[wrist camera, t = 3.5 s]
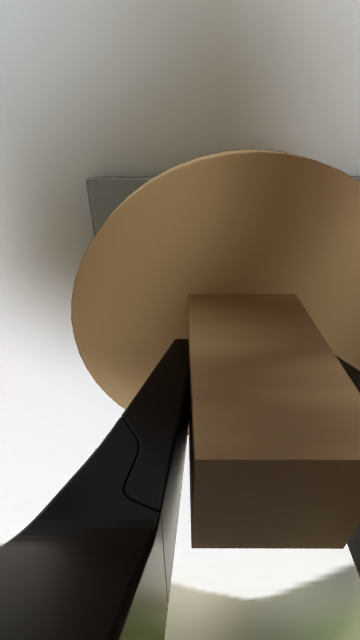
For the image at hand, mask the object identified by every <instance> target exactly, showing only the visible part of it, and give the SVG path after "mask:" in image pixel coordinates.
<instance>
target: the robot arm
mask: <svg viewBox="0 0 360 640" xmlns="http://www.w3.org/2000/svg"><path fill="white" fill-rule="evenodd" d="M335 356H336V355H335ZM336 357H337V359H338V360H339V362H340V363H341V365H342V367H343V368H344V370H345V371H346V373H347V374H348V376H349V377H350V379H351V380H352V382H353V384H354V385H355V387H356V388H357V390H358V391H359V393H360V371H359V370H358V369H356V368H355V367H353V366H352V365H350V364H349V363H347V362H345V361H344V360H342V359H341V358H339V357H338V356H336ZM189 396H190V357H189V339H175V340H174V341H173V342H172V344H171V345H170V347H169V348H168V350H167V351H166V352H165V354H164V355H163V357H162V358H161V360H160V361H159V362H158V364H157V365H156V367H155V368H154V370H153V371H152V373H151V374H150V375H149V377H148V378H147V380H146V381H145V383H144V384H143V385H142V387H141V388H140V390H139V391H138V393H137V394H136V395H135V397H134V398H133V400H132V401H131V403H130V404H129V405H128V407H127V408H126V410H125V411H124V413H123V414H122V416H121V418H119V419H118V421H117V422H116V424H115V425H114V427H113V428H112V430H111V431H110V432H109V434H108V435H107V436H106V438H105V439H104V440H103V442H102V443H101V444H100V446H99V447H98V448H97V449H96V450H95V451H94V453H93V454H92V455H91V456H90V457H89V459H88V460H87V461H86V462H85V463H84V464H83V466H82V467H81V468H80V469H79V470H78V471H77V472H76V473H75V474H74V476H73V477H72V478H71V479H70V480H69V481H68V482H67V483H66V485H65V486H64V487H63V488H62V489H61V490H60V491H59V492H58V494H57V495H56V496H55V497H54V498H53V499H52V500H51V501H50V503H49V504H48V505H47V506H46V507H45V508H44V509H43V510H42V512H41V513H40V514H39V515H38V516H37V517H36V518H35V519H34V520H33V521H32V522H31V523H30V524H29V525H28V526H27V527H26V528H25V529H23V530H22V531H21V532H20V533H19V534H17V535H16V536H15V537H13V538H12V539H11V540H9V541H8V542H7V543H5V544H3V545H2V546H0V640H164V637H165V628H166V619H167V611H168V606H167V605H168V602H169V593H170V584H171V575H172V567H173V558H174V549H175V540H176V531H177V523H178V514H179V505H180V496H181V488H182V479H183V470H184V461H185V452H186V444H187V435H188V426H189ZM347 544H348V547H349V550H350V552H351V555H352V558H353V561H354V563H355V566H356V569H357V572H358V574H359V577H360V524H359V526H358V527H357V529H356V530H355V532H354V533H353V535H352V536H351V538H350V539H349V541H348V542H347Z"/></svg>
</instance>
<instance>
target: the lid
mask: <svg viewBox="0 0 360 640" xmlns="http://www.w3.org/2000/svg"><path fill="white" fill-rule="evenodd" d="M71 320H72V326H73V333H74V338H75V341H76V344H77V347H78V351H79V354H80V356H81V358H82V360H83V362H84V364H85V366H86V368H87V370H88V371H89V373H90V374H91V375H92V377H93V378H94V380H95V381H96V383H97V384H98V385H99V386H100V387H101V388H102V389H103V391H104V392H105V393H106V394H107V395H108V396H109V397H111V398H112V399H113V400H114V401H115V402H116V403H117V404H118V405H120V406H121V407H123V408H124V409H126V408H127V407H128V405H129V404H130V403H131V401H132V400H133V398H134V397H135V395H136V394H137V393H138V391H139V390H140V388H141V387H142V385H143V384H144V383H145V381H146V380H147V378H148V377H149V375H150V374H151V373H152V371H153V370H154V368H155V367H156V365H157V364H158V362H159V361H160V360H161V358H162V357H163V355H164V354H165V352H166V351H167V350H168V348H169V347H170V345H171V344H172V342H173V341H174V340H175V339H189V357H190V396H189V426H188V435H189V461H190V503H191V544H192V548H332V549H343V548H344V546H345V545H346V543H347V542H348V541H349V539H350V538H351V536H352V535H353V533H354V532H355V530H356V529H357V527H358V526H359V524H360V393H359V391H358V390H357V388H356V387H355V385H354V384H353V382H352V380H351V379H350V377H349V376H348V374H347V373H346V371H345V370H344V368H343V367H342V365H341V363H340V362H339V360H338V359H337V357H336V356H338V357H339V358H341V359H342V360H344V361H345V362H347V363H349V364H350V365H352V366H353V367H355V368H356V369H358V370H359V371H360V182H358V181H357V180H355V179H353V178H352V177H350V176H349V175H347V174H345V173H344V172H342V171H340V170H337V169H335V168H333V167H330V166H328V165H325V164H323V163H320V162H318V161H315V160H312V159H309V158H306V157H302V156H297V155H293V154H289V153H284V152H280V151H268V150H255V149H250V150H237V151H224V152H220V153H216V154H211V155H207V156H202V157H198V158H195V159H193V160H190V161H187V162H185V163H182V164H180V165H177V166H174V167H172V168H170V169H168V170H167V171H165V172H163V173H161V174H159V175H158V176H156V177H154V178H152V179H150V180H149V181H147V182H146V183H145V184H144V185H142V186H141V187H140V188H138V189H137V190H136V191H134V192H133V193H132V194H130V195H129V196H128V197H127V198H126V199H125V200H124V201H123V202H122V203H121V204H120V205H119V206H118V207H117V208H116V209H115V210H114V211H113V212H112V214H111V215H110V216H109V218H108V219H107V220H106V222H105V223H104V225H103V226H102V227H101V229H100V230H99V231H98V233H97V234H96V236H95V237H94V238H93V240H92V241H91V243H90V245H89V247H88V249H87V251H86V253H85V255H84V257H83V259H82V261H81V263H80V266H79V269H78V272H77V275H76V278H75V282H74V288H73V294H72V300H71ZM335 355H336V356H335Z"/></svg>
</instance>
